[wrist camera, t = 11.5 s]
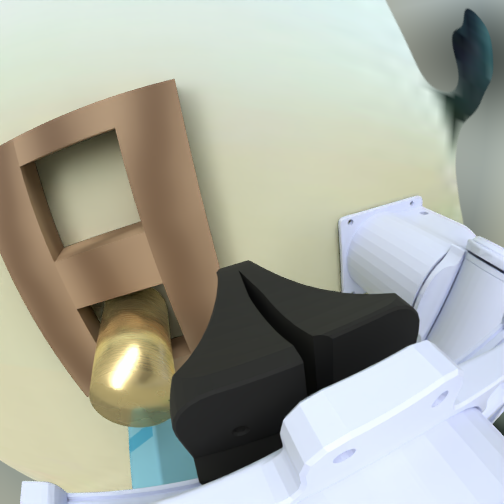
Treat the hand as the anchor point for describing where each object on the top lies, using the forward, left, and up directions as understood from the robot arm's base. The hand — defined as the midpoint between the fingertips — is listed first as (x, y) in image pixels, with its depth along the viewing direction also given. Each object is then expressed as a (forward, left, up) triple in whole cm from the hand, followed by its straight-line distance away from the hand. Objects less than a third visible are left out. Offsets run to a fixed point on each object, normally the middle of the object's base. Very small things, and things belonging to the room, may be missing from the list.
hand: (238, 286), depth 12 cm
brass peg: (+7, +6, -10) cm, 13 cm away
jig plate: (+7, +1, -10) cm, 12 cm away
